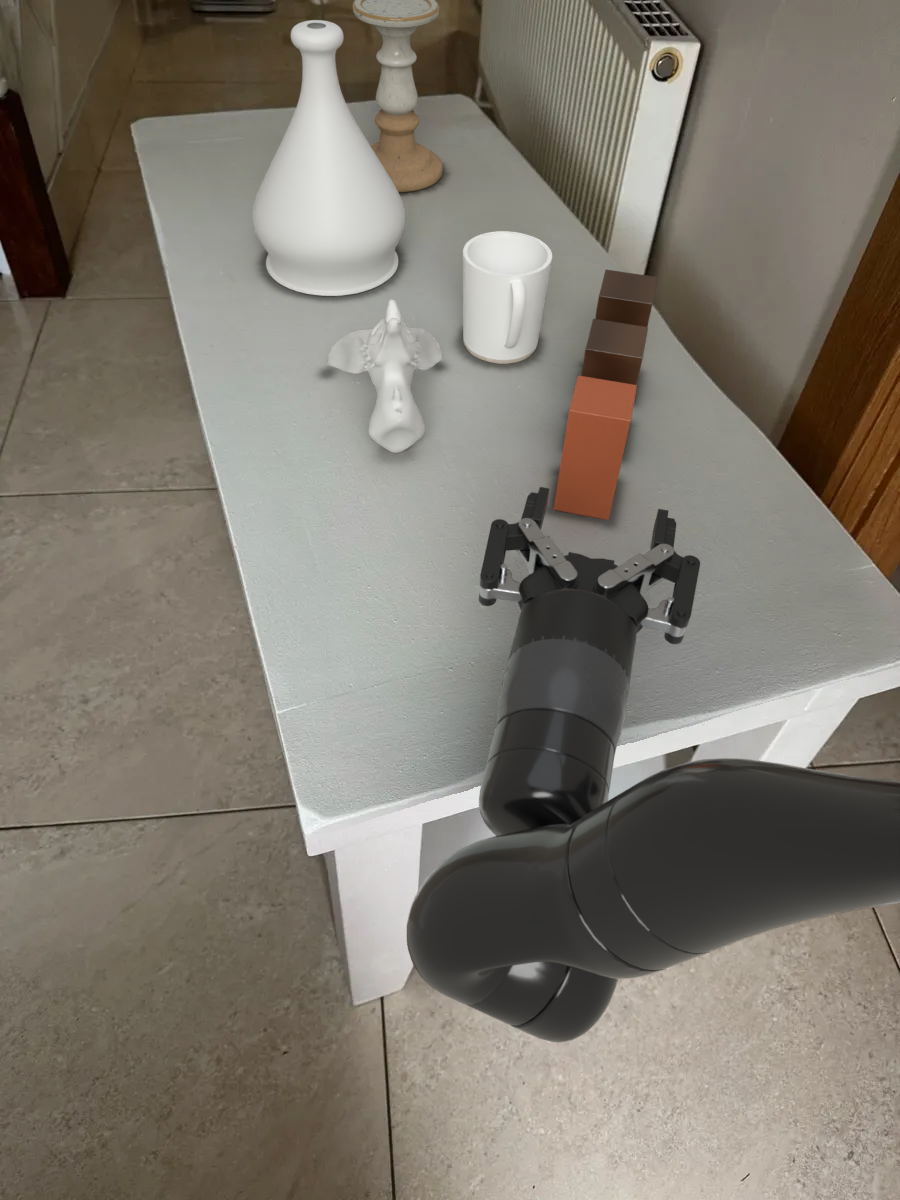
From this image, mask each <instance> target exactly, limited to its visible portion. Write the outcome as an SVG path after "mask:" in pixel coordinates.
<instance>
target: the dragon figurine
mask: <svg viewBox="0 0 900 1200" xmlns="http://www.w3.org/2000/svg"><path fill="white" fill-rule="evenodd" d="M439 362H441V363H443V362H444V360H443V351H442V348H441V346H440V344H439V342H438V340H437V339H436V338H435V337H434V335H432V333H430V332H428V331H427V330H425V329H424V328H421V327H413V326H410V327H408V326H407V325H406V324H405V322H404V321H403V320H402V315H401V311H400V309H399V306H398V303H397V301H396V300H395V299H392V298H391V299H389V301H388V302H387V306H386V310H385V315H384V318H382V319H380V320H379V321H378V322H377V323H376V325H375V326H374V327H372V328H368V329H364V328H363V329H359V330H353V331H351V332H349V333H347V334H345V335H343V336H342V337H340V338H339V339H338V340H337V341H336V342H335V343H334V344H333V345H332V347H331V349H330V351H329V353H328V356H327V359H326V367H329V366H330V367H333V368H337V369H339V370H341V371H342V372H345V373H349V374H355V375H357V374H361V373H364V372H368V374H369V377H370V380H371V382H372V384H373V387H374V389H375V391H376V401H375V404H374V405H375V406H374V408H373V411H372V414H371V416H370V419H369V423H368V435H369V437H370V439H371V440H372V441H374V442H375V443H376V444H378V445H379V446H381V447H382V448H384V449H386V450H387V451H389V452H390V453H392V454H400V453H402V452H404V451H406V450H407V449H408V448H410V447H411V446H412V445H414V444H415V443H417V442H418V441H419V440H420V439H422V437H423V436H424V434H425V433H426V424H425V419H424V418H423V415H422V412H421V410H420V409H419V408H418V406H417V404H416V402H415V401H416V400H415V398H414V396H413V392H412V390H411V386H412V381H413V377H414V373H415V370H416V369H418V370H421V371H426V370H429V369H431V368H433V367H434V366H435V365H436V364H437V363H439Z"/></svg>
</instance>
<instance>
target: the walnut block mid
mask: <svg viewBox="0 0 900 1200" xmlns="http://www.w3.org/2000/svg"><path fill="white" fill-rule="evenodd" d="M648 331H649V326H648V327H643V326H637V325H630V324H624V323H618V322H611V321H605V320H599V319H595V318H593V319H592V321H591V325H590V329H589V333H588V337H587V341H586V345H585V349H584V354H583V356H584V357H583V361H582V367H581V373H580V376H585V377H591V378H597V379H602V380H608V381H614V382H620V383H626V384H632V385H637V386H638V382H639V377H640V373H641V368H642V363H643V359H644V352H645V348H646V344H647V338H648V337H647V336H648Z"/></svg>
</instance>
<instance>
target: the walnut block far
mask: <svg viewBox="0 0 900 1200" xmlns="http://www.w3.org/2000/svg"><path fill="white" fill-rule="evenodd" d="M657 281H658V277H657V276H651V275H647V274H639V273H632V272H625V271H621V270H613V269H605V271H604V274H603V278H602V281H601V286H600V290H599V294H598V298H597V305H596V311H595V317H594V319H599V320H605V321H611V322H618V323H624V324H630V325H637V326H643V327H648V328H649V322H650V318H651V313H652V308H653V303H654V297H655V292H656V287H657Z"/></svg>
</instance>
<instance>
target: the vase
mask: <svg viewBox="0 0 900 1200" xmlns="http://www.w3.org/2000/svg"><path fill="white" fill-rule="evenodd" d="M290 41H291V43H292V44H293V46H294V47H295V48H296V49H298V50H299V52H300V55H301V62H302V64H301V65H302V66H301V67H302V68H301V69H302V75H301V88H300V93H299V98H298V101H297V103H296V107H295V110H294V112H293V115H292V117H291V120H290V122H289V124H288V126H287V129H286V131H285V133H284V135H283V137H282V140H281V142H280V144H279V146H278V148H277V150H276V152H275V154H274V156H273V158H272V161H271V163H270V164H269V166H268V169H267V171H266V173H265V175H264V177H263V179H262V182H261V184H260V186H259V188H258V191H257V193H256V195H255V198H254V202H253V206H252V212H251V213H252V214H251V215H252V217H251V219H252V220H251V221H252V226H253V229H254V232H255V235H256V236H257V239H258V240H259V242H260V244H261V245H262V247H263V248H264V249H265V251H266V252H267V256H266V259H265V268H266V270H267V273H268V274H269V276H271V277H272V279H273V280H274V281H276V282H277V284H280V285H282V286H283V287H285V288H287V289H289V290H292V291H295V292H298V293H302V294H307V295H313V296H322V297H323V296H324V297H333V296H334V297H341V296H348V295H354V294H359V293H363V292H367V291H369V290H372V289H375V288H376V287H379V286H381V285H383V284H384V283H385V282H387V281H388V280H390V278H391V277H393V275H394V274H395V273H396V271H397V270H398V267H399V255H398V253H397V252H396V248H397V246H398V244H399V242H400V240H401V238H402V236H403V233H404V230H405V227H406V217H407V215H406V209H405V205H404V202H403V199H402V197H401V195H400V192H398V191H397V189H396V187H395V185H394V183H393V182H392V180H391V178H390V177H389V175H388V173H387V172H386V170H385V168H384V167H383V165H382V164H381V162H380V160H379V159H378V157H377V156H376V154H375V152H374V151H373V149H372V148H371V144H370V142H369V141H368V139H367V138H366V136H365V134H364V132H362V129H361V128H360V126H359V124H358V123H357V121H356V120H355V118H354V116H353V114H352V112H351V110H350V108H349V106H348V104H347V102H346V100H345V97H344V95H343V93H342V88H341V86H340V82H339V76H338V71H337V64H336V62H337V61H336V54H337V50H338V49H339V48H340V47H341V46H342V44H343V43H344V32H343V29H342V28H341V27H340V26H339V25H338V24H336V23H334V22H331V21H328V20H324V19H323V20H321V19H312V20H311V19H310V20H305V21H302V22H299V23H297V24H295V25H294V26H293V27H292V28H291V31H290Z"/></svg>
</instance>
